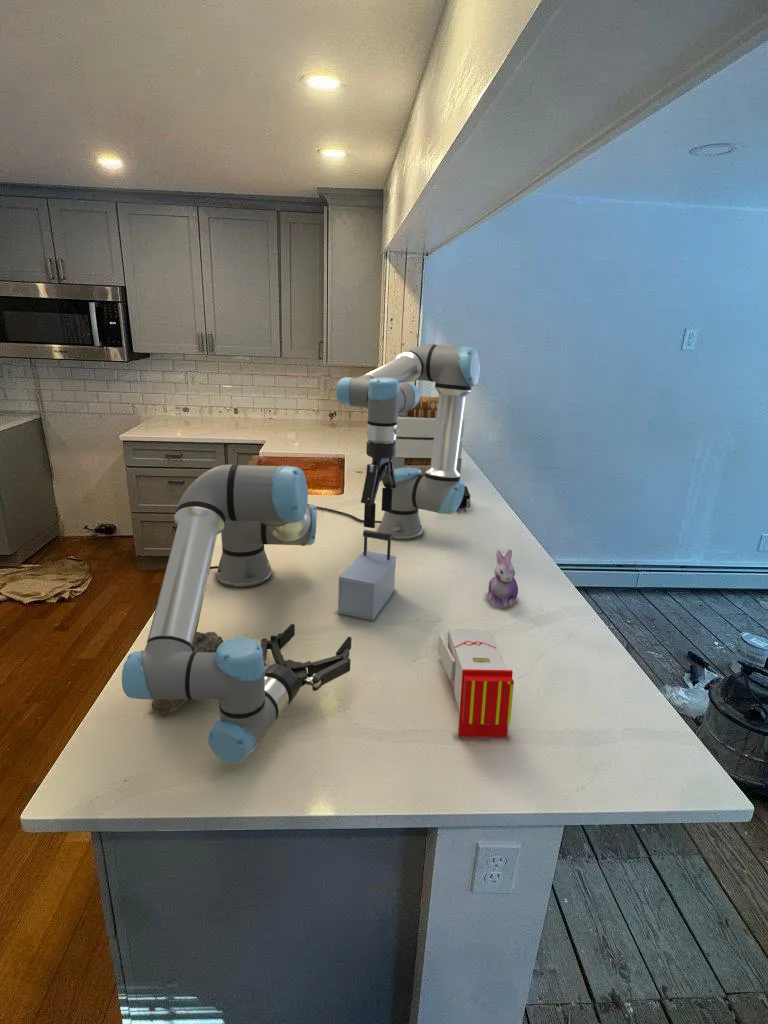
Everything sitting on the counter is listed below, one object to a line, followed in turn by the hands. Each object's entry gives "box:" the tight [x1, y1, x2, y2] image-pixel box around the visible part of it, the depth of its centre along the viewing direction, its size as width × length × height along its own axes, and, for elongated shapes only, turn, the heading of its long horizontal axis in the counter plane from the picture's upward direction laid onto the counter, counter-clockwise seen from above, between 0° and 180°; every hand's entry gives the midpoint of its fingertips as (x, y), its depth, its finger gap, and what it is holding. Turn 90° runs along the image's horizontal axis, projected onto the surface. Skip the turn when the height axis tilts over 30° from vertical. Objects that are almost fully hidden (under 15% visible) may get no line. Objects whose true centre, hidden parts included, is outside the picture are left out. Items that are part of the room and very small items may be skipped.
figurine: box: [487, 548, 519, 609], centre depth 154 cm, size 9×10×15 cm
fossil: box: [151, 631, 224, 714], centre depth 116 cm, size 22×10×15 cm
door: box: [338, 529, 397, 586], centre depth 149 cm, size 18×10×8 cm, turn 161°
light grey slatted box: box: [393, 396, 465, 475], centre depth 268 cm, size 34×33×41 cm
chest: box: [337, 559, 397, 621], centre depth 151 cm, size 18×10×10 cm, turn 161°
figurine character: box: [456, 485, 472, 513], centre depth 228 cm, size 7×8×15 cm
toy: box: [437, 628, 515, 738], centre depth 117 cm, size 12×13×30 cm
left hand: (321, 635), depth 124 cm, fingers open, 13 cm apart
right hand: (378, 518), depth 151 cm, fingers open, 13 cm apart
